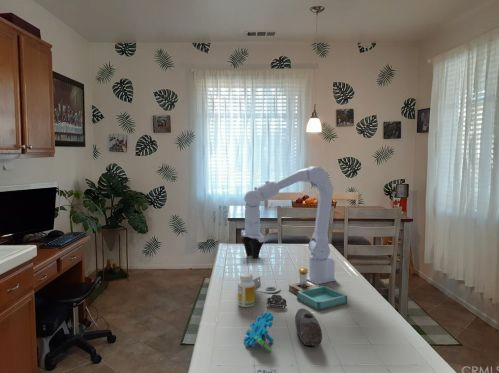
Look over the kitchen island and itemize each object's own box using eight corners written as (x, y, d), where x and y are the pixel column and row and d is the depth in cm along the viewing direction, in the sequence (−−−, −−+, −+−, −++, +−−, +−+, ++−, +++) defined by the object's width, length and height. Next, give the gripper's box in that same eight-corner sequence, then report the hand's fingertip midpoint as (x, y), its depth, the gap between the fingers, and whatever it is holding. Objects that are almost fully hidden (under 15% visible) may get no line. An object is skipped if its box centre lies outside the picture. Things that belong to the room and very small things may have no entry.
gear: (243, 326, 101) (269, 303, 99) (258, 340, 102) (285, 317, 100) (240, 353, 90) (270, 327, 88) (258, 368, 91) (287, 343, 89)
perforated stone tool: (290, 324, 106) (291, 300, 106) (309, 324, 107) (309, 300, 106) (302, 351, 91) (302, 324, 91) (323, 351, 92) (324, 323, 91)
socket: (304, 287, 137) (304, 281, 137) (317, 293, 131) (317, 287, 131) (289, 290, 134) (289, 284, 133) (301, 296, 128) (301, 290, 127)
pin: (303, 289, 134) (304, 267, 134) (309, 292, 132) (309, 270, 131) (297, 291, 133) (297, 269, 132) (302, 293, 130) (302, 271, 130)
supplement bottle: (256, 302, 123) (256, 273, 122) (251, 308, 117) (251, 278, 117) (241, 300, 124) (241, 271, 124) (235, 306, 119) (235, 276, 119)
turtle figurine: (263, 311, 116) (264, 297, 116) (267, 303, 123) (267, 290, 122) (312, 316, 113) (312, 302, 112) (314, 308, 119) (314, 294, 119)
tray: (324, 292, 131) (324, 285, 131) (347, 303, 122) (347, 295, 122) (297, 298, 125) (297, 291, 125) (318, 310, 116) (318, 302, 116)
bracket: (274, 296, 129) (274, 286, 129) (250, 290, 135) (249, 281, 134) (283, 290, 135) (283, 281, 134) (259, 285, 140) (259, 276, 140)
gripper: (234, 220, 146) (234, 254, 147) (253, 225, 133) (252, 263, 134) (250, 218, 149) (249, 252, 150) (269, 224, 137) (269, 260, 138)
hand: (252, 257), depth 143 cm, fingers open, 4 cm apart
